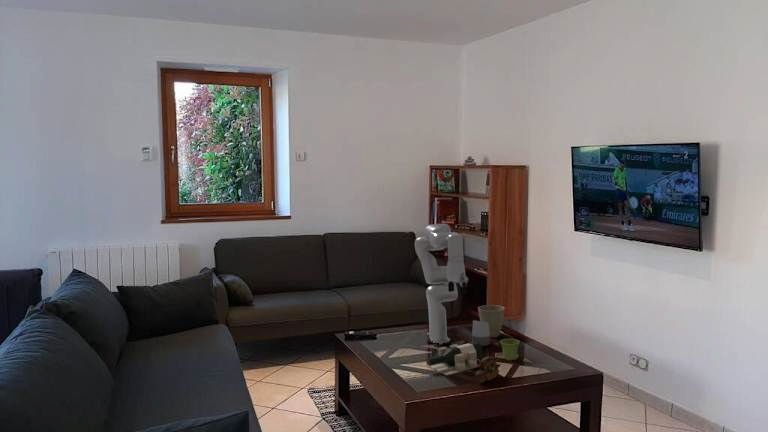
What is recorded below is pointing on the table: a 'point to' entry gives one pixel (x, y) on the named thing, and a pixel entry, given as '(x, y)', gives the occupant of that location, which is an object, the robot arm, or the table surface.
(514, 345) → the plant pot
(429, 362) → the wine bottle
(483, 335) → the smart speaker
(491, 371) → the wooden carving
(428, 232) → the robot arm
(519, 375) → the table surface
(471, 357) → the rest
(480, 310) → the plant pot
